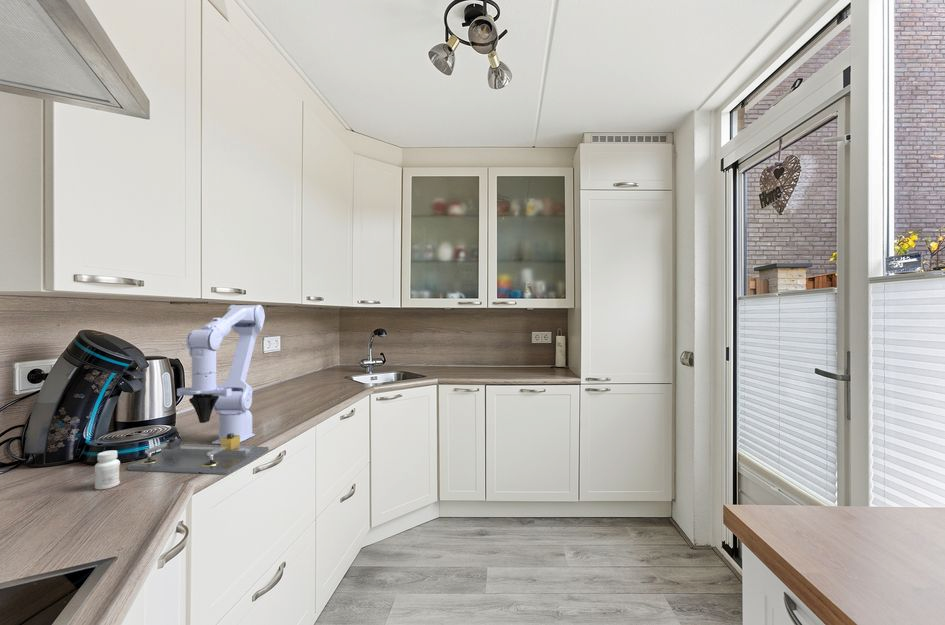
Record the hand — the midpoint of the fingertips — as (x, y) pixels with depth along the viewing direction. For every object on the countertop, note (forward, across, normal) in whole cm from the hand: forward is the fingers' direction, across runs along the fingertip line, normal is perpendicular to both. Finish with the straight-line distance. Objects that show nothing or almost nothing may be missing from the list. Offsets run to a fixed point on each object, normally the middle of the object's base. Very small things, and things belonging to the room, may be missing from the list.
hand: (204, 421), depth 113 cm
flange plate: (+10, +1, -2) cm, 10 cm away
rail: (+9, 0, 0) cm, 9 cm away
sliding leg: (+8, +8, -3) cm, 12 cm away
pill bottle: (+10, -9, -19) cm, 23 cm away
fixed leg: (+8, -10, -3) cm, 13 cm away
